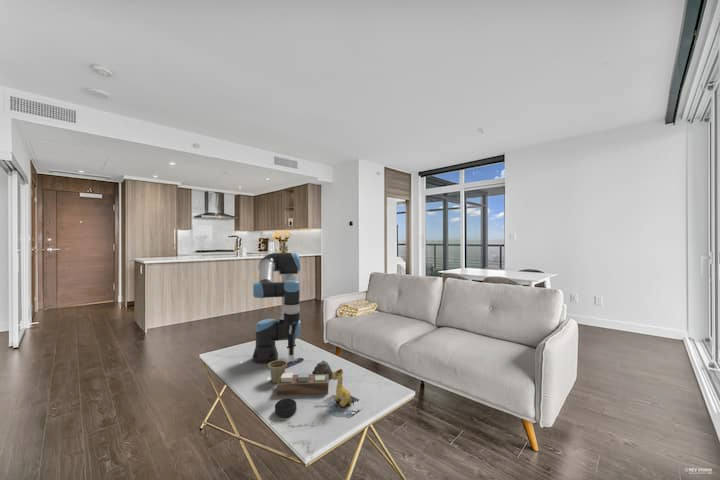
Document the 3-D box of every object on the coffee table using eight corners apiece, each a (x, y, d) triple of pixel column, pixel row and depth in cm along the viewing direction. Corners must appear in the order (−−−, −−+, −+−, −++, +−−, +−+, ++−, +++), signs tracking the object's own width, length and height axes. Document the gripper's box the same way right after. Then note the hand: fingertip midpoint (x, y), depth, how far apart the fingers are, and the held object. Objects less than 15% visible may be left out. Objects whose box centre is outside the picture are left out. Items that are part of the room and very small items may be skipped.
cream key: (282, 378, 152) (282, 373, 152) (293, 378, 153) (293, 373, 153) (281, 383, 147) (281, 377, 147) (291, 382, 148) (291, 377, 148)
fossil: (306, 376, 164) (313, 356, 167) (319, 379, 170) (325, 360, 173) (319, 382, 156) (326, 361, 160) (332, 385, 162) (338, 365, 166)
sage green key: (315, 380, 153) (315, 375, 153) (325, 380, 154) (325, 375, 154) (314, 385, 148) (314, 380, 148) (325, 385, 149) (325, 379, 149)
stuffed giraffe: (338, 392, 148) (338, 359, 147) (369, 405, 137) (369, 370, 136) (314, 407, 136) (314, 372, 135) (345, 424, 125) (346, 385, 124)
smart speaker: (278, 406, 135) (278, 397, 135) (298, 407, 135) (298, 397, 135) (272, 418, 126) (272, 408, 126) (293, 418, 126) (293, 409, 126)
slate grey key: (299, 377, 153) (299, 372, 153) (309, 377, 153) (309, 372, 153) (297, 382, 148) (297, 377, 148) (308, 382, 148) (308, 377, 148)
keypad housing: (280, 385, 155) (280, 375, 155) (328, 383, 156) (328, 373, 156) (276, 395, 145) (276, 384, 145) (328, 393, 146) (328, 383, 146)
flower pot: (282, 385, 154) (282, 368, 154) (264, 383, 156) (264, 366, 156) (289, 377, 164) (290, 361, 164) (273, 375, 165) (273, 359, 165)
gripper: (285, 309, 156) (285, 355, 156) (281, 315, 143) (281, 366, 144) (300, 309, 157) (300, 355, 157) (298, 315, 144) (297, 365, 144)
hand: (291, 360), depth 150 cm, fingers closed
